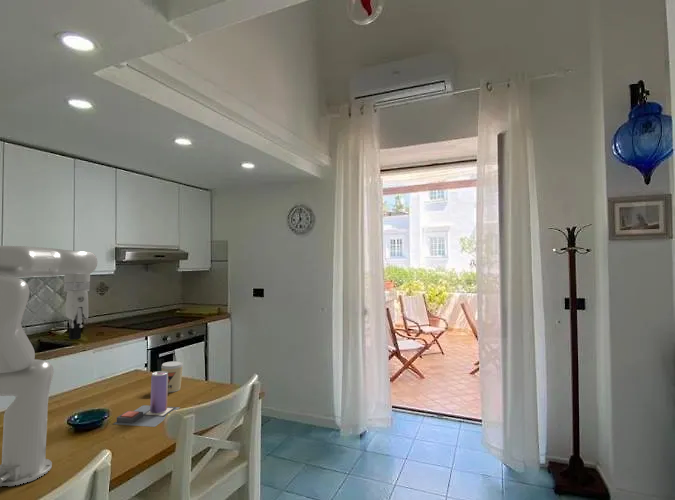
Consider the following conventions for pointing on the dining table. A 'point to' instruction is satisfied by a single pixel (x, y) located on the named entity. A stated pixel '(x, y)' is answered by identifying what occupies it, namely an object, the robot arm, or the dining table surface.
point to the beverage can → (159, 392)
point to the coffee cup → (173, 374)
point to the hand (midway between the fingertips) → (74, 338)
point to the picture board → (144, 417)
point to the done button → (130, 414)
